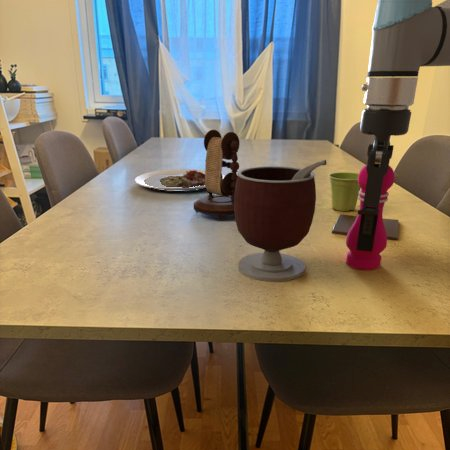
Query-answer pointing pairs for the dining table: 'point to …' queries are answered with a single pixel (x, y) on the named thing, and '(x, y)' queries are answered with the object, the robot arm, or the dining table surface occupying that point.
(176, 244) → the dining table surface
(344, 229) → the coaster board
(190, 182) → the plated food
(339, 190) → the plant pot
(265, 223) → the mate gourd
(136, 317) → the dining table surface
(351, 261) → the pepper mill
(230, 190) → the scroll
